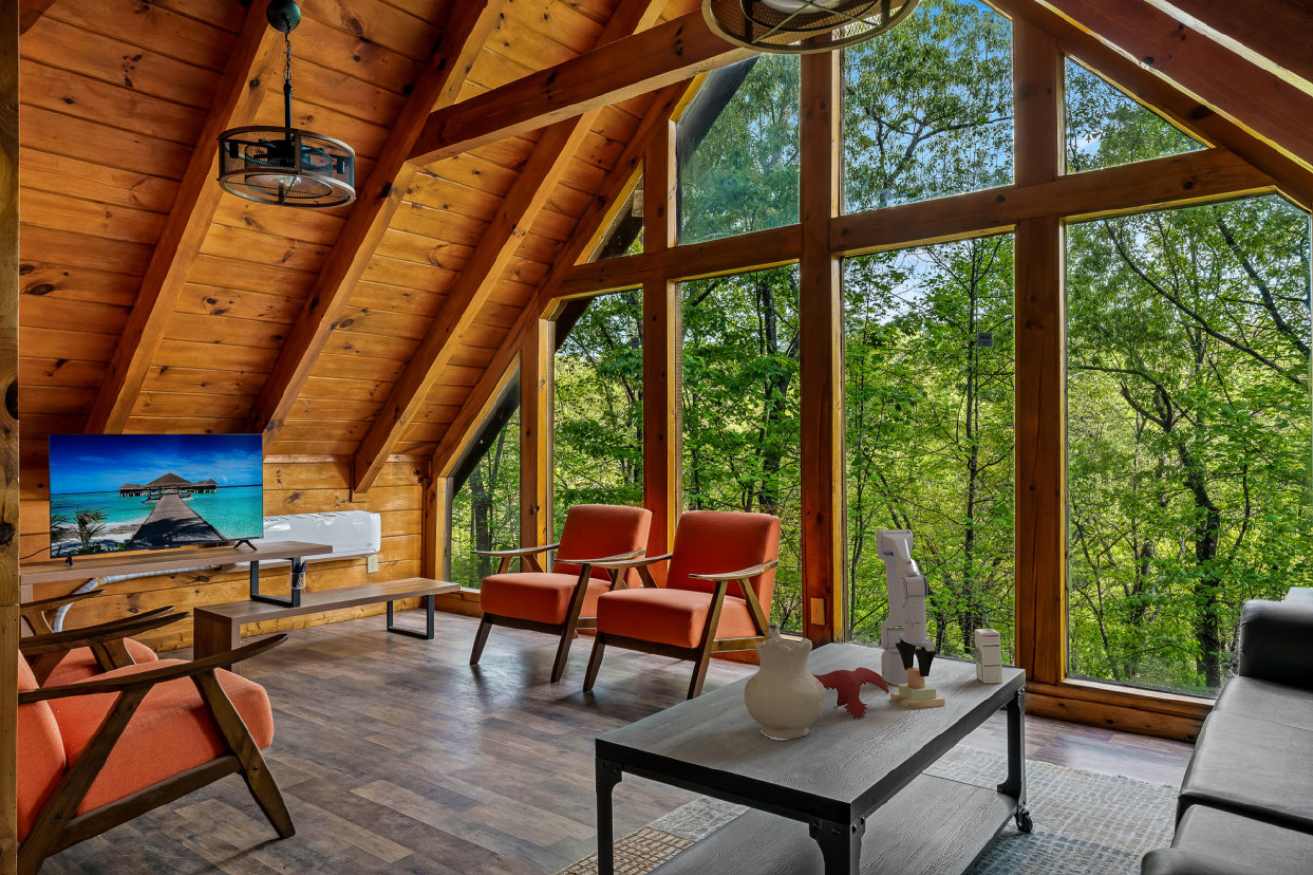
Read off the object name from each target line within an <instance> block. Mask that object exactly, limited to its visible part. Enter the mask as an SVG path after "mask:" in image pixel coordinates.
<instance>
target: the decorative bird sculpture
mask: <svg viewBox="0 0 1313 875" xmlns="http://www.w3.org/2000/svg"><path fill="white" fill-rule="evenodd" d="M811 674H812V673H811ZM812 675H813V676H814V677H815V678H817V679H818V680H819V681H820V682H821V683H822V684H823V687H824V689H825V690H828V691H829V690H830V689H831V690H835V689H836V691H837V700H836V705H833V706H832V708H833V709H835V711H836V710H837V708H838V707H843V709H845V710H846V713H850V716H853V717H852V719H856V718H858V720H861V718H864V717H865V715H864V714H866V713H867V711H866V710H868V707H867V706H868V704H867V703H863V702H862V701H861V699H860V693H861V686H863V685H864V686H867V683H868V684H869V685H872V684H873V685H874V686H876V687H879V689H882V691H884V692H885V693H886V695H888V694H889V693H890V691H889V687H888V685H887V682H886V681H884V679H883V678H882V675H880V674H879V673H878V672H876V671H874V670H871V669H870V668H867V667H862V666H861V667H860V666H859V667H857V668H856V669H855V670H848V669H836V670H833V671H831V672H828V673H825V674H814V673H813V674H812Z"/></svg>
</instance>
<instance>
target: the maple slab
mask: <svg viewBox="0 0 1313 875" xmlns="http://www.w3.org/2000/svg"><path fill="white" fill-rule="evenodd" d="M890 700H891V701H893V702H895V703H897V704H899V705H901V706H903V707H905V708H907V709H909V710H916V709H926V708H935V707H943V706H946V701H945V700H946V699H945V698H944V697H942V696H939V695H937V694H936V699H925V700H915V701H912V700H910V699H908V698H906V697H904V696H902V695H900V694H899V691H897V692H896V691H895V692H890Z"/></svg>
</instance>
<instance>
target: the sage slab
mask: <svg viewBox="0 0 1313 875" xmlns="http://www.w3.org/2000/svg"><path fill="white" fill-rule="evenodd" d="M897 688H898V692H899V694H900V695H902V696H904V697H906V698H908V699H910V700H912V701H915V700H925V699H936V695H937V689H936V688H935V687H933V686H930V685H928V684H926V683H925V688H921V689H914V688H909V687H908V684H899V685H898V686H897Z"/></svg>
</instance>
